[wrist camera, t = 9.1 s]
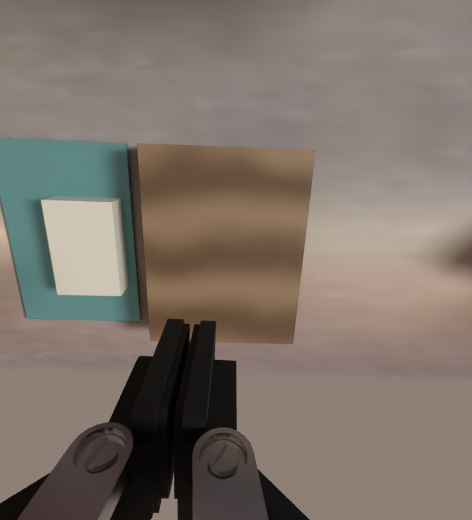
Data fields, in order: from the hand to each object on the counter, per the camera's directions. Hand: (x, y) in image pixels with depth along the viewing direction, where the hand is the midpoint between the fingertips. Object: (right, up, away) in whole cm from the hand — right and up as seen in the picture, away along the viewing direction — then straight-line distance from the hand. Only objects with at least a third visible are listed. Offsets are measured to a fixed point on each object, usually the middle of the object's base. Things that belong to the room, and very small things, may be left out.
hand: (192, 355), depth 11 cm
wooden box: (0, +5, +20) cm, 21 cm away
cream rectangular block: (-12, +5, +18) cm, 22 cm away
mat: (-15, +5, +19) cm, 25 cm away
